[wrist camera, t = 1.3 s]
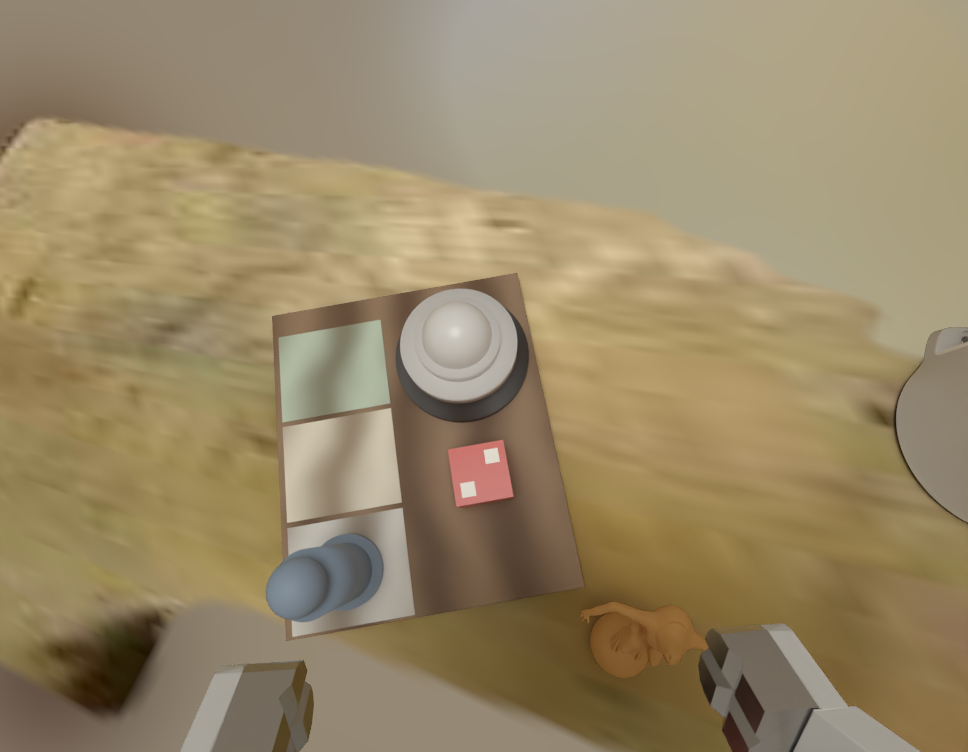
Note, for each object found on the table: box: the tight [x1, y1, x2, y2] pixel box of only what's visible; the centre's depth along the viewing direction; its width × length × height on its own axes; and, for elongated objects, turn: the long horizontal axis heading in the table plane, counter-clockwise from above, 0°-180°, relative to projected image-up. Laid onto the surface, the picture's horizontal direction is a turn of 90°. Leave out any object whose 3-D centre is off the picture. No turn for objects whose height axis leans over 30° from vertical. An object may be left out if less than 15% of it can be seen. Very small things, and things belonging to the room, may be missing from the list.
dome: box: [400, 289, 517, 404], centre depth 35 cm, size 9×9×5 cm
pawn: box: [266, 534, 384, 622], centre depth 30 cm, size 5×5×11 cm
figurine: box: [580, 602, 709, 678], centre depth 29 cm, size 8×6×12 cm
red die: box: [448, 440, 514, 508], centre depth 35 cm, size 4×4×4 cm
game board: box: [272, 273, 585, 641], centre depth 38 cm, size 22×26×2 cm
